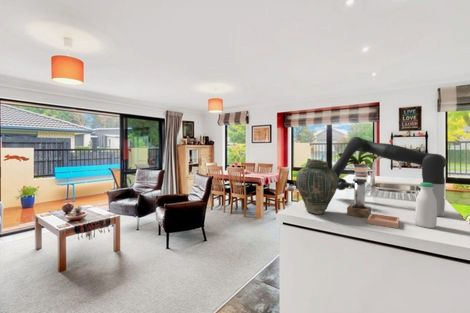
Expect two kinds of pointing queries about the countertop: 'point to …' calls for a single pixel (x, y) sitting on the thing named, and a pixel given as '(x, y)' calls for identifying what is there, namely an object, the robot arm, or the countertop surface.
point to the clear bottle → (359, 193)
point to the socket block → (359, 211)
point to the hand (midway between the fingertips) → (349, 187)
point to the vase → (316, 185)
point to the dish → (383, 220)
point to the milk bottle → (426, 207)
